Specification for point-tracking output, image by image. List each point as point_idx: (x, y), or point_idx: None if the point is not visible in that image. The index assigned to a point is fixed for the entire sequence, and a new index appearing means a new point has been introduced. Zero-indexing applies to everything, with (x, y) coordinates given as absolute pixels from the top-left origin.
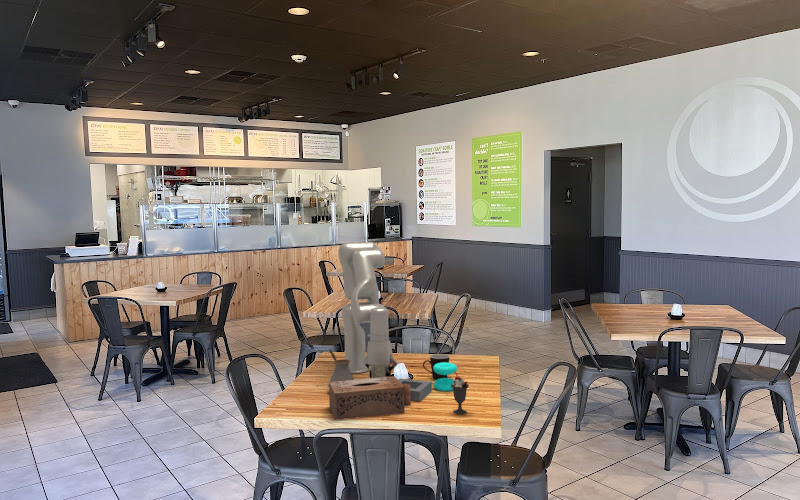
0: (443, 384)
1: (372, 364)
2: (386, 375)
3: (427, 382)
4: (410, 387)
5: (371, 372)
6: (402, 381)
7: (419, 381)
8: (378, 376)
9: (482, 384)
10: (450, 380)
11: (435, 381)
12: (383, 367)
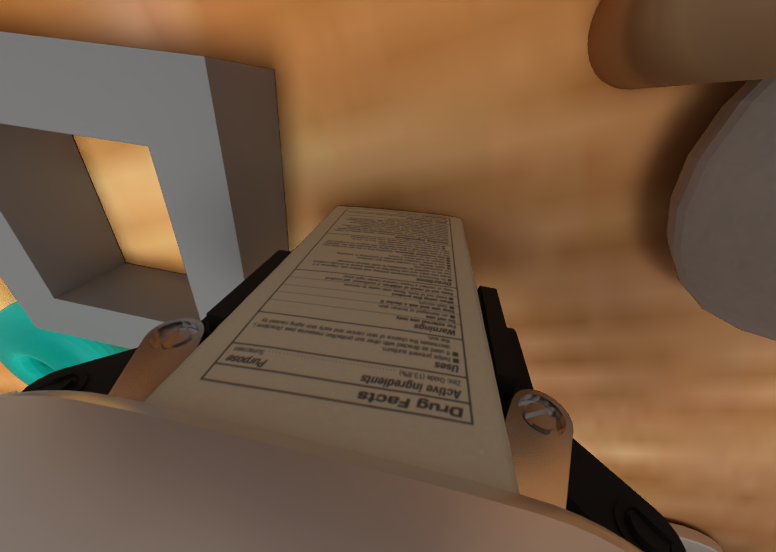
0: (11, 322)
1: (464, 505)
2: (242, 290)
3: (39, 309)
4: (186, 291)
5: (485, 339)
6: (201, 315)
7: (99, 325)
8: (365, 284)
9: (20, 386)
10: (9, 366)
11: (83, 362)
12: (183, 387)
